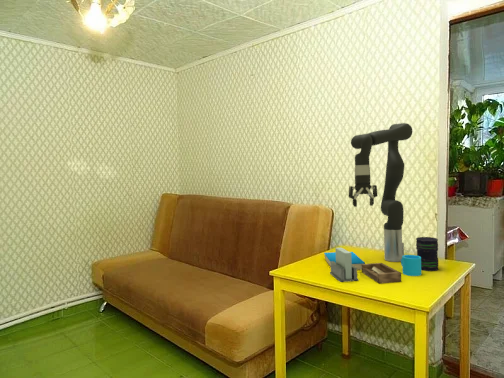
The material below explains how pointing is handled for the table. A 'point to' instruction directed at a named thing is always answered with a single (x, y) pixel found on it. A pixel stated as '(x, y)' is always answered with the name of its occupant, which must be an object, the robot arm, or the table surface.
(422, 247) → the storage jar
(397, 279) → the brown wooden tray
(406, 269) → the mug
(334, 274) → the charcoal stand
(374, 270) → the birch offcut
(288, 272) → the table surface
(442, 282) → the table surface
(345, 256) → the blue-grey panel
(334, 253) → the book
